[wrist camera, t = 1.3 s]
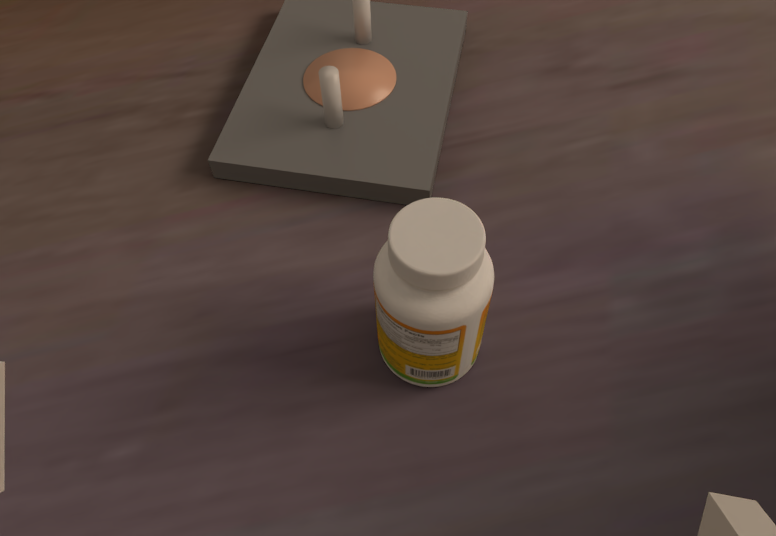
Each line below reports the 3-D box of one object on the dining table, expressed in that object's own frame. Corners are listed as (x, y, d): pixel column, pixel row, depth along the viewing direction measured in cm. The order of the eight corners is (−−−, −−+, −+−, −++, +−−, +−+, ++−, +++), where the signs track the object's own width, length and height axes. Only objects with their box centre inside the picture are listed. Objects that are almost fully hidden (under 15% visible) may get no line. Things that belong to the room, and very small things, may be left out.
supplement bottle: (433, 282, 35) (442, 164, 27) (500, 348, 33) (532, 240, 25) (357, 336, 34) (343, 226, 25) (423, 410, 31) (430, 315, 23)
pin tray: (465, 29, 48) (472, -41, 43) (428, 208, 38) (432, 142, 34) (291, 11, 50) (280, -58, 45) (214, 177, 40) (189, 111, 35)
